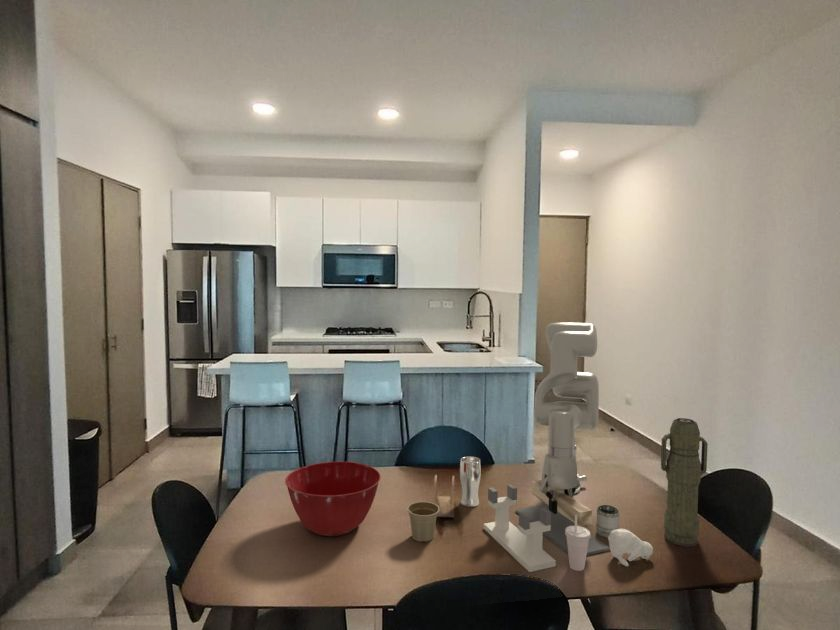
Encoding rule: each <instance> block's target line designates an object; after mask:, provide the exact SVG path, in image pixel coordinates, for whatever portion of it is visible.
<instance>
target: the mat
mask: <svg viewBox="0 0 840 630" xmlns="http://www.w3.org/2000/svg"><path fill="white" fill-rule="evenodd" d="M544 507H545V508H546V509H547V510H549V505H547V504H546V503H544V504H540V505H539V504H538V505H533V506H528V507H523V508H515V513H517V515H519V512H522V511H524V512H525V513H527V514H528V515H529V516H530V523H531V522H536V521H540V508H544ZM550 512H551V511H550ZM569 526H575V523H574V522H572V521H571V520H569V519H568V518H566V517H565V516H563V515H562V514H561V513H559V512H558V511H557V514H554V513H552V512H551V530H550V531H545V532H543V535H544V536H545V537H546V538H548V539H549V540H550V541H552V543H554V544H555V545H556V546H558V547H559V548H560V549H562V551H564V552H565V553H566V554H568V546H567V536H566V535H565V529H566V528H567V527H569ZM577 526H578V525H577ZM590 535H591V537H590V539H589V542H588V548H587V555H586V557H587V556H591V555H595V554H599V553H603V552H609V551H610V547H609V545H607V544H606V543H604V542H603V541H602V540H600V539H599V538H597V537H596V536H594V535H592V533H590Z"/></svg>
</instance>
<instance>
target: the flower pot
mask: <svg viewBox="0 0 840 630" xmlns="http://www.w3.org/2000/svg"><path fill="white" fill-rule="evenodd" d="M406 510H407V512H408V516H409V520H410V521H409V522H410V527H411V536H412V539H414V541H417V542H426V543H427V542H430V541H431V540H433V539H434V537H435V529H436V522H437V517H438V515H439V512H440V506H439V505H438V504H437V503H434V502H429V501H417V502H412V503H410V504H409V505H408V506H407V507H406Z"/></svg>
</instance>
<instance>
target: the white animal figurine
mask: <svg viewBox="0 0 840 630" xmlns="http://www.w3.org/2000/svg"><path fill="white" fill-rule="evenodd" d="M607 540H608V546H609V547H610V550H609V551H610V553H611V555H612V556H613V557H614V558H615V559H617V560H618V561H619V564H621V565H623V566H625V567H629V566H630V565H629V563H628V561H629V562H632V561H634V560H635V559H637V558H639V557H640V558H641V559H643V560H644V559H645V561H646V562H648V560H649V559H650V557H651V556H653V553H654V548H653V545H652V544H650V543H649V542H648V541H643V540H641V539H640V538H639V537H638V536H637V535H636V534H635V533H634V532H631V531H630V530H628V529H625V528H619V529H616V530H612V531H611V533H610V535H609V537H608V538H607ZM624 554H626V555H628V557H627V560H628V561H627V560H626V559H625V558H624V557H623V555H624Z"/></svg>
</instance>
